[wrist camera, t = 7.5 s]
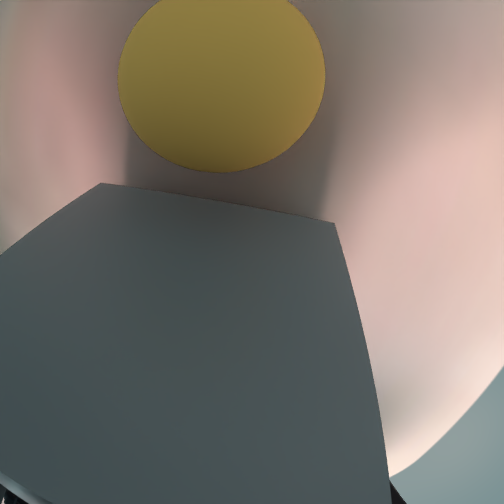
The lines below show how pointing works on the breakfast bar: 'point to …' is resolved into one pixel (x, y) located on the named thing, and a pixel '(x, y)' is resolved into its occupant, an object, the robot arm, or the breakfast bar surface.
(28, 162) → the breakfast bar surface
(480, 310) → the breakfast bar surface
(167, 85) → the ball
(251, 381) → the matte grey cube
